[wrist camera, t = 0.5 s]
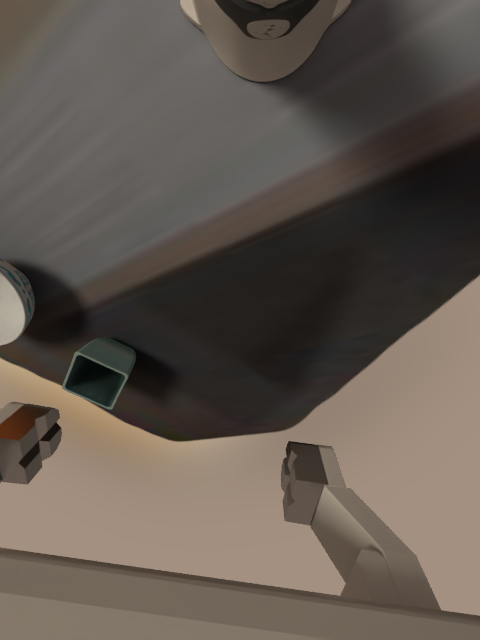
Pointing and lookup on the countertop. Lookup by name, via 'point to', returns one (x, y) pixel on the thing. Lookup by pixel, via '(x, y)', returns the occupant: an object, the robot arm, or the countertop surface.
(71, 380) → the flower pot
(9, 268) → the chinaware
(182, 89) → the countertop surface
